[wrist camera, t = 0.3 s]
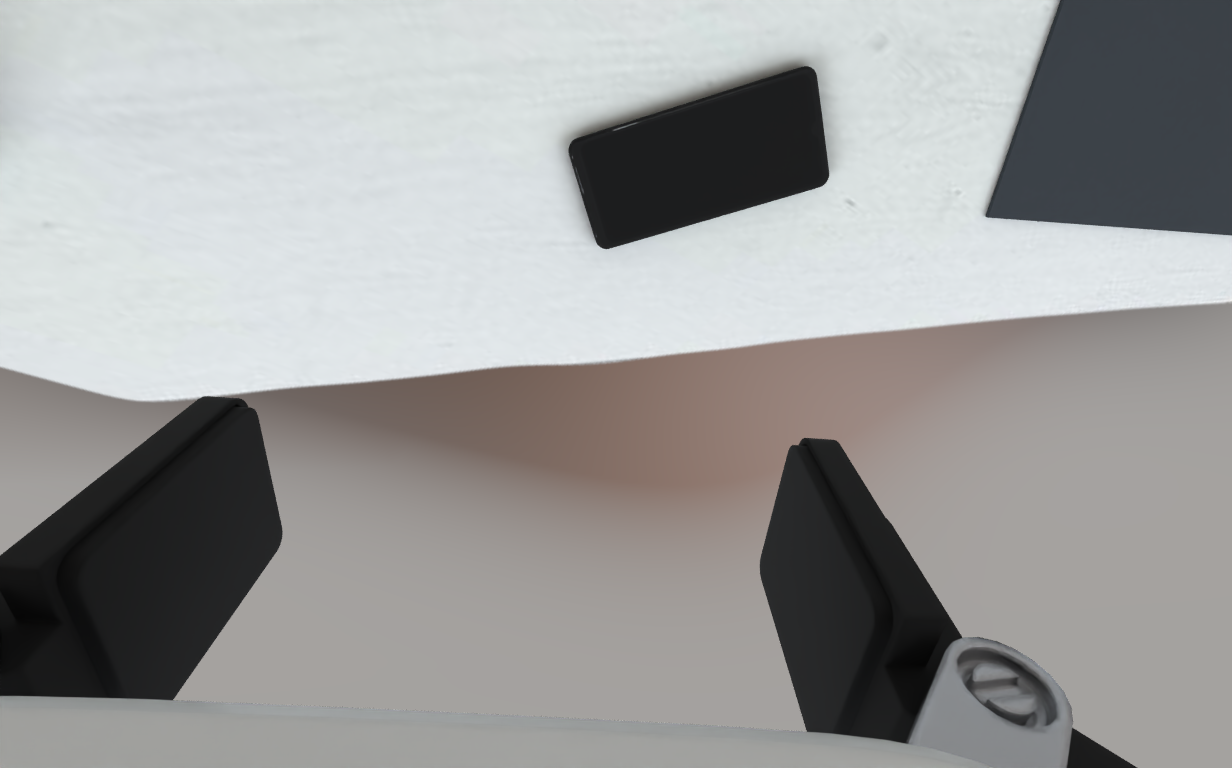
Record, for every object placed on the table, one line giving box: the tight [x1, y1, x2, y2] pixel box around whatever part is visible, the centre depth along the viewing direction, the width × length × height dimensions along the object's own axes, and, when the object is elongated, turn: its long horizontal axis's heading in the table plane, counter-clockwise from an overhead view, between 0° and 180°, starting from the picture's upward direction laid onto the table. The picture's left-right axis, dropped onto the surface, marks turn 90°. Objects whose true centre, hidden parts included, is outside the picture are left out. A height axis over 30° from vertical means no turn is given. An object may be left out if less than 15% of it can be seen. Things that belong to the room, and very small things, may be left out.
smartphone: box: [569, 66, 829, 249], centre depth 37 cm, size 7×1×15 cm
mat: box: [986, 0, 1232, 235], centre depth 35 cm, size 20×18×1 cm
